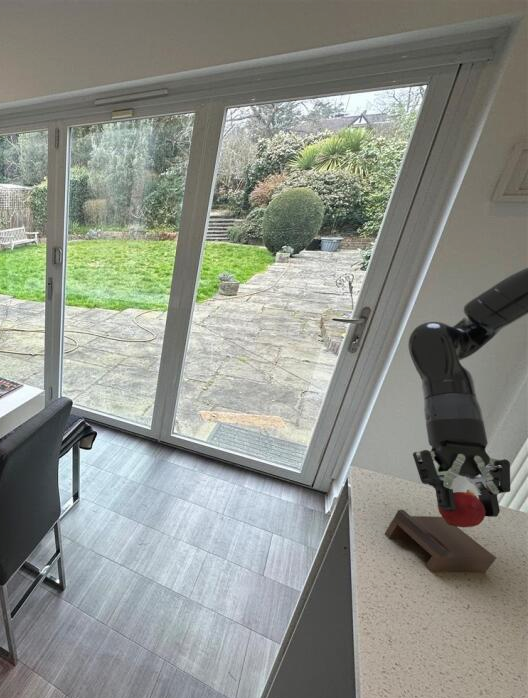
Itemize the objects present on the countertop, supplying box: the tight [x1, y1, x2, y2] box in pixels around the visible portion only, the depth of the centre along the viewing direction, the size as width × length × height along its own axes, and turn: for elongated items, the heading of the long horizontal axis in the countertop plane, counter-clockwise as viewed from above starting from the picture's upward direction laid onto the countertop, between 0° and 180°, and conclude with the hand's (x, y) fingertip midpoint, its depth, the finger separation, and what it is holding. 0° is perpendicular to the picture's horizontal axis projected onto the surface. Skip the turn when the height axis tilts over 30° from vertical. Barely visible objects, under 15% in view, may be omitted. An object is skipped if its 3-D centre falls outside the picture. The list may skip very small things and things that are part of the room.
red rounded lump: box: [437, 489, 486, 528], centre depth 74 cm, size 6×6×8 cm
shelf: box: [384, 509, 497, 574], centre depth 78 cm, size 10×10×7 cm
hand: (469, 513), depth 72 cm, fingers closed on red rounded lump, 5 cm apart
